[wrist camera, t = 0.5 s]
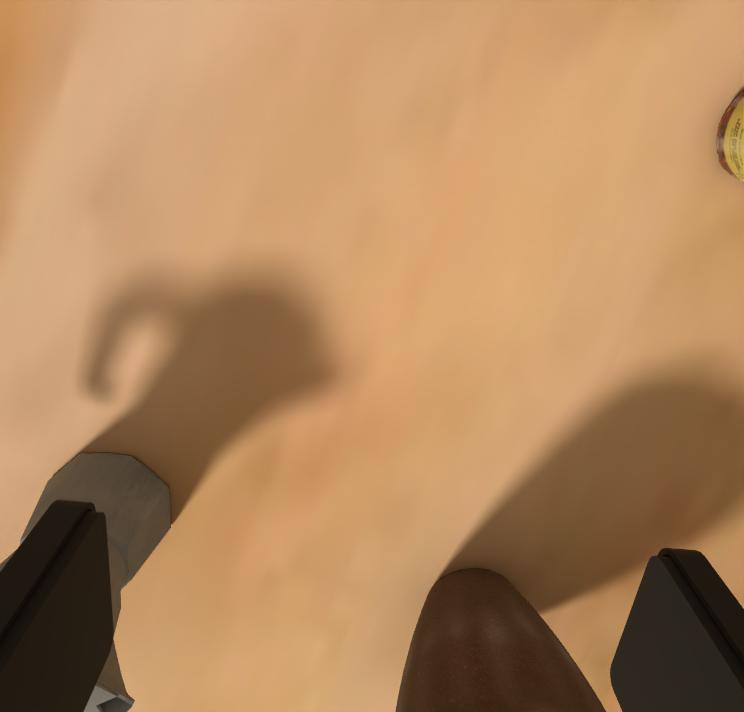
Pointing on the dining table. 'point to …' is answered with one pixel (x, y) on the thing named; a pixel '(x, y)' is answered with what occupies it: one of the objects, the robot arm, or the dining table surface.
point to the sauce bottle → (732, 138)
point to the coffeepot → (113, 536)
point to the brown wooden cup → (488, 654)
